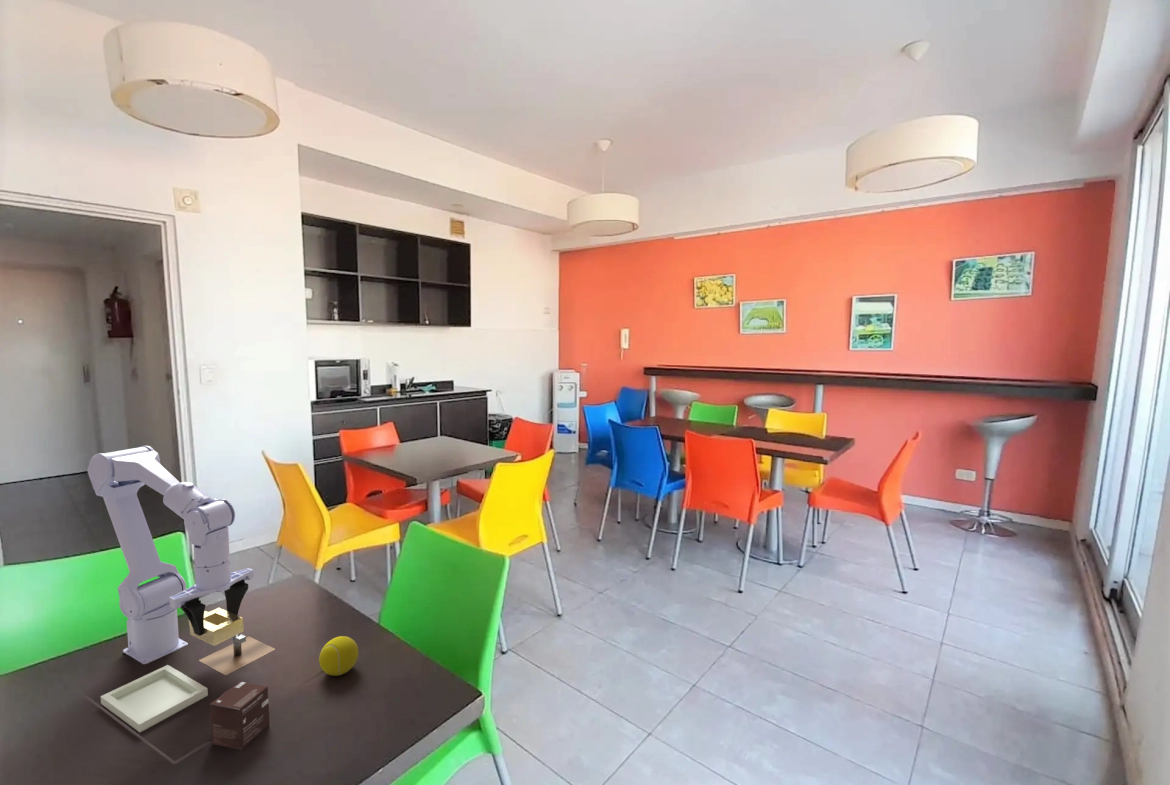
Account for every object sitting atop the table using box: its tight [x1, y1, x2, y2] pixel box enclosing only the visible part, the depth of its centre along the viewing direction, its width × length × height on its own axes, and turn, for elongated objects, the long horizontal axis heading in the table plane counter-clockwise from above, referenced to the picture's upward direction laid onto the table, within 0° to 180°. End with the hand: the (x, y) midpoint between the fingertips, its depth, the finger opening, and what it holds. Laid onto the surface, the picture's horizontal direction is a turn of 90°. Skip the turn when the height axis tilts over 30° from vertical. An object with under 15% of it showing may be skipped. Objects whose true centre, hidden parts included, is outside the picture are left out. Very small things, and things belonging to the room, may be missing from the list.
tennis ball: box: [318, 635, 359, 677], centre depth 104 cm, size 7×7×7 cm
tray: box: [100, 664, 209, 734], centre depth 95 cm, size 14×10×2 cm
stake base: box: [198, 635, 276, 677], centre depth 108 cm, size 10×10×1 cm
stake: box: [229, 632, 247, 657], centre depth 108 cm, size 4×1×4 cm, turn 63°
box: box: [209, 681, 271, 750], centre depth 87 cm, size 6×6×7 cm
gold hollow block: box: [188, 607, 245, 647], centre depth 104 cm, size 6×10×3 cm, turn 64°
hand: (216, 626), depth 104 cm, fingers closed on gold hollow block, 6 cm apart
